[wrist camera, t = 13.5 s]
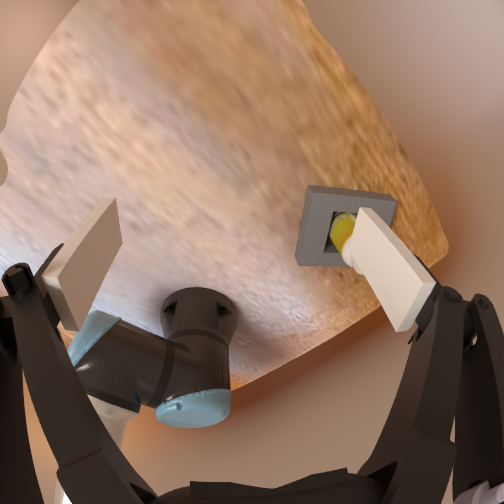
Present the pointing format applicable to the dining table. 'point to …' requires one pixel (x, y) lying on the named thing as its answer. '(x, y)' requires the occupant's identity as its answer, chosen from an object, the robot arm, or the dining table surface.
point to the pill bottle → (344, 236)
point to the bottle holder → (319, 218)
